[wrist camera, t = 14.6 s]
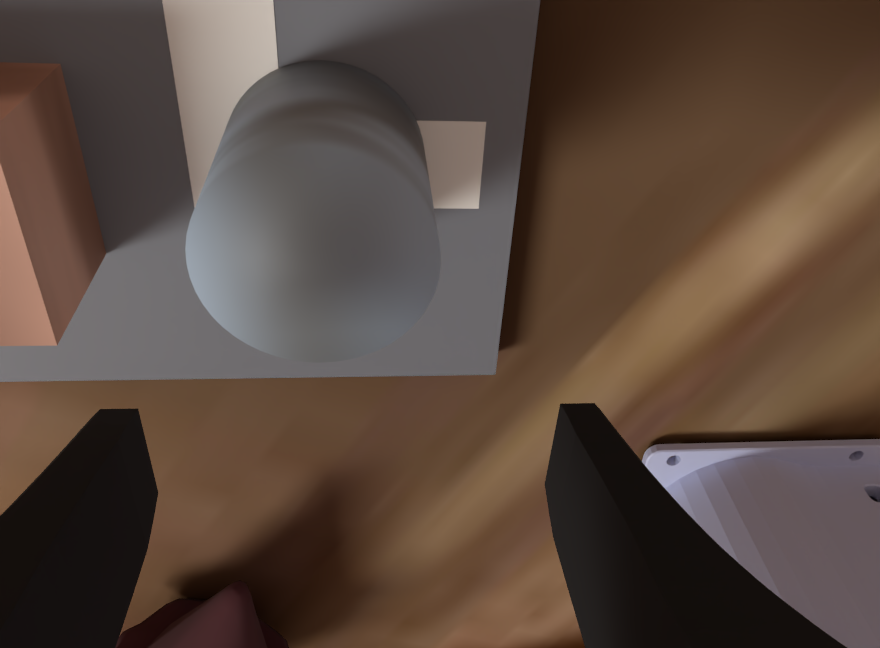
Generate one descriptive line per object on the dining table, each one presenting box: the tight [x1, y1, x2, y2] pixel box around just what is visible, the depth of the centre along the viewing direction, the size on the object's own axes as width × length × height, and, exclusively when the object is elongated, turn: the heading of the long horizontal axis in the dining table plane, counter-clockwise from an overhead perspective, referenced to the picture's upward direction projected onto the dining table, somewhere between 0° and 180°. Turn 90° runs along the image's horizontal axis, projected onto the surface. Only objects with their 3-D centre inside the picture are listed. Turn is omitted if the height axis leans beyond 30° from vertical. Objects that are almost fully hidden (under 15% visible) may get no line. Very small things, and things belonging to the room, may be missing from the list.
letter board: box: [0, 0, 540, 382], centre depth 19 cm, size 18×14×1 cm
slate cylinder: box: [185, 60, 441, 363], centre depth 17 cm, size 5×5×5 cm
